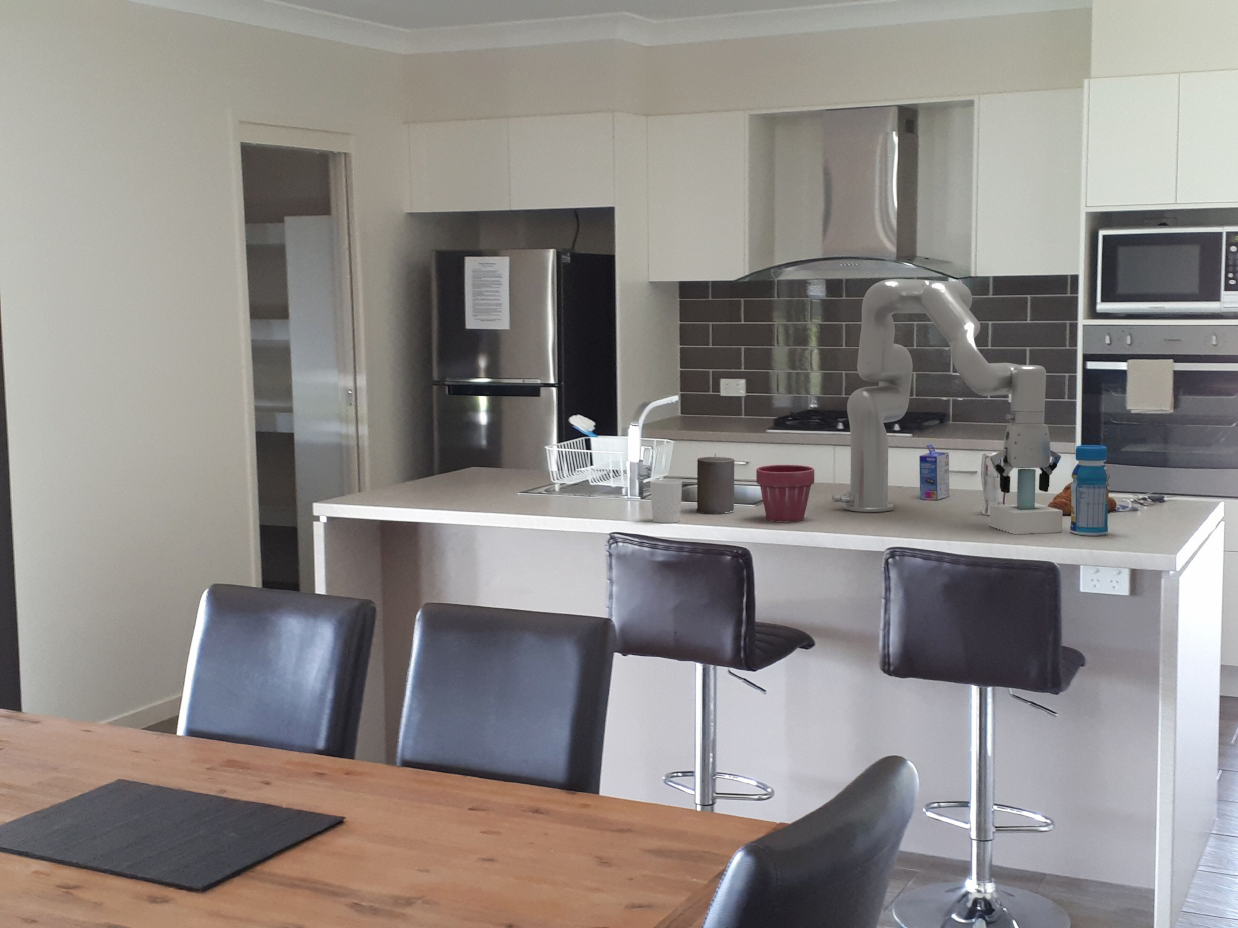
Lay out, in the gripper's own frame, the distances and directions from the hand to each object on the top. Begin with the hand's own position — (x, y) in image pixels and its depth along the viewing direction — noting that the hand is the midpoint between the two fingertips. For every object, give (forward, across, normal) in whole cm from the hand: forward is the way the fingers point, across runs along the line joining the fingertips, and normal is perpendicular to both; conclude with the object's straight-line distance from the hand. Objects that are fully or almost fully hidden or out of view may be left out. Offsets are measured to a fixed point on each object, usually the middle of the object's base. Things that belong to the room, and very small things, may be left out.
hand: (1024, 491), depth 311 cm
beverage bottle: (+9, +11, -10) cm, 17 cm away
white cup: (+10, -78, +34) cm, 85 cm away
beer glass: (+9, +4, +22) cm, 25 cm away
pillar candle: (+10, -62, +46) cm, 77 cm away
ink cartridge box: (+10, +2, +54) cm, 54 cm away
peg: (+9, 0, 0) cm, 9 cm away
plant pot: (+10, -49, +28) cm, 57 cm away
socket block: (+9, 0, 0) cm, 9 cm away
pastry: (+9, +27, +20) cm, 35 cm away
